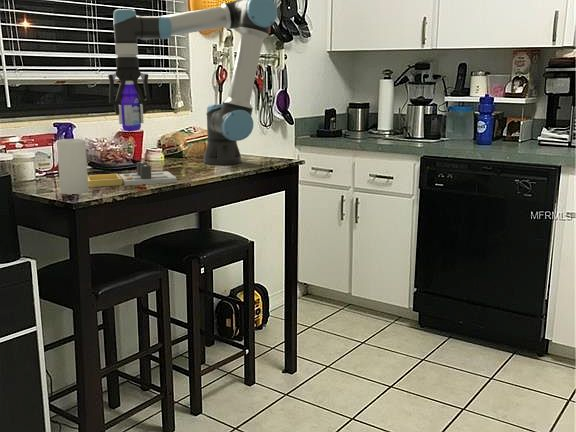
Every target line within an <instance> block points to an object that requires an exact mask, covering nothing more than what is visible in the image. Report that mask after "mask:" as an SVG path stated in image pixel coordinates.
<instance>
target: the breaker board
mask: <svg viewBox="0 0 576 432" xmlns="http://www.w3.org/2000/svg"><path fill="white" fill-rule="evenodd" d="M118 175H119V176H120V177H121V178H122V185H124V186H125V187H126V186H127V187H128V186H139V185H140V186H141V185H142V186H143V184H145V185H155V184H157V183H160V184H170V183H169V182H176V183H178V178H177V177H176V176H175V175H174V174H172V173H171V172H169V171H154V172H153V171H151V178H146V179H142V178H141V175H138V174H137V172H134V173H119V174H118Z"/></svg>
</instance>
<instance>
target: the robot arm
mask: <svg viewBox="0 0 576 432" xmlns="http://www.w3.org/2000/svg"><path fill="white" fill-rule="evenodd" d="M112 15H113V30H114V31H113V33H114V34H113V35H114V47H115V48H114V49H115V55H116V56H117V57H116V58H115V63H116V66H115V67H116V71H115V73H114V72H113V73H108V75H107V78H108V79H109V80H108V81H109V90H108V93H109V94H108V95H109V96H108V97H109V98H108V102H109V104H112V105H114V111H115V112H114V113H115V115H118V124H119V125H122V110H121V104H120V103H121V99H122V91H123V88H124V85H125V82H126V81H133V82H134V85H135V89H136V91H137V93H138V94H137V97H138V99H139V102H140V103H139V106H140V121H141V124H145V123H144V115H145V114H146V113H147V108H146V107H147V104H149V103H151V102H152V101H151V95H150V88H149V82H148V80H149V74H148V73H143V72H141V71H140V65H139V58H138V55H139V50H138V49H139V47H138V39H139V40H142V41H150V40H167V39H170V38H171V37H173V36H178V35H184V34H185V35H186V34H190V33H191V34H192V33H197V32H203V31H208V30H209V31H210V30H215V29H216V30H217V29H221V28H224V29H226V30H231V29H232V30H233V29H234V30H235V29H237V30H238V32H239V33H240V36H239V40H238V41H239V42H238V45H237V49H236V55H235V60H234V65H233V71H232V75H231V79H230V85H229V89H228V95H227V97H226V98H225V99H224V100H222V103H220V104H219V103H217V104H209V105H208V106H207V109H206V125H207V126H206V128H207V129H206V132H207V136H206V137H207V143H206V144H207V145H206V147H205V151H204V154H203V163H204V164H206V165H207V164H208V165H215V166H216V165H222V166H223V165H225V166H226V165H236V164H240V163H241V162H242V154H241V153H240V149H239V147H238V142H239V141H243V140H246V139H247V138H248V137H249V136H251V133H252V131H253V130H254V120H253V117H252V114H253V109H254V107H253V106H252V104H251V99H252V94H253V90H254V85H255V84H254V83H255V79H256V74H257V71H258V66H259V61H260V56H261V52H262V47H263V42H264V39H266V38H267V37H269V33H270V29H271V26H272V25H274V23H275V21H276V19H277V17H278V9H277V4H276V3H275V1H274V0H233V1H231V2H230V1H228V2H225V3H222V4H221V5H220V6H217V7H211V8H205V9H198V10H193V11H192V10H191V11H185V12H179V13H173V14H166V15H159V16H153V15H152V16H151V15H149V16H147V15H146V16H145V15H144V16H143V15H142V16H141V15H137V13H136V10H135V9H130V8H129V9H126V8H122V9H121V8H118V9H115V10H114V11H113V13H112ZM116 77H117V78H118V80H119V85H118V86H119V87H118V89H117V93H116V96H115V95H114V94H115V80H116ZM140 77H141V78H140ZM139 78H140V79H141V80H142V84H143V90H144V91H143V92H144V95H143V93H142V90H141V87H140V86H139V83H138V79H139ZM114 96H115V97H114ZM144 96H145V98H144ZM114 99H115V100H114Z"/></svg>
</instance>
